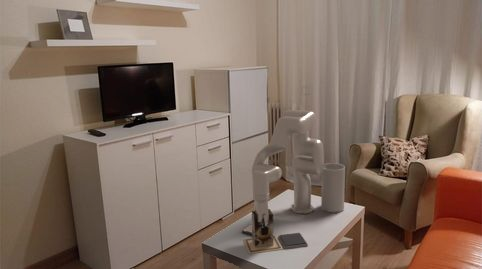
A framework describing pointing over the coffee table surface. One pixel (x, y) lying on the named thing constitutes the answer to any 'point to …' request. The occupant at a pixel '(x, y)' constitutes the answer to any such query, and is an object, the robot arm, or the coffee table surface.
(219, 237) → the coffee table surface
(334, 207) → the cylinder vase
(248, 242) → the marked card
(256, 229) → the coffee box
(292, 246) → the pad
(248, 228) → the phone case
